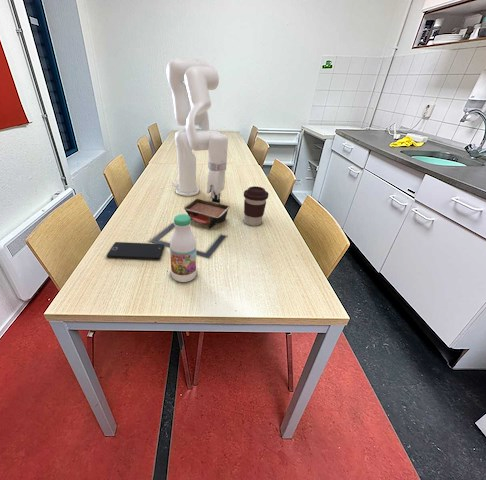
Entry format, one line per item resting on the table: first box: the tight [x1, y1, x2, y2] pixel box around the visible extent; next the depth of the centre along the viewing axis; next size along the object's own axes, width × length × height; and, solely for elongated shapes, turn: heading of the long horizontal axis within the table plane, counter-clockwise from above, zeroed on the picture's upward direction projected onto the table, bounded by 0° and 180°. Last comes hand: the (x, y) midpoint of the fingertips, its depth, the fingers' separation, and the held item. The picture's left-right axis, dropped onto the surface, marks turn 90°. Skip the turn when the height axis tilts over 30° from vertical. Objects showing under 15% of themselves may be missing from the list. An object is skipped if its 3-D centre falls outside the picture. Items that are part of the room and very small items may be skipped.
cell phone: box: [106, 241, 165, 261], centre depth 94 cm, size 9×18×1 cm, turn 87°
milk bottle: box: [169, 213, 197, 283], centre depth 79 cm, size 8×8×20 cm
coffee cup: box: [243, 185, 270, 227], centre depth 113 cm, size 10×10×15 cm
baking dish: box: [183, 198, 231, 230], centre depth 114 cm, size 14×18×10 cm
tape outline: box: [149, 222, 226, 258], centre depth 103 cm, size 24×16×1 cm
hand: (215, 206), depth 121 cm, fingers closed
